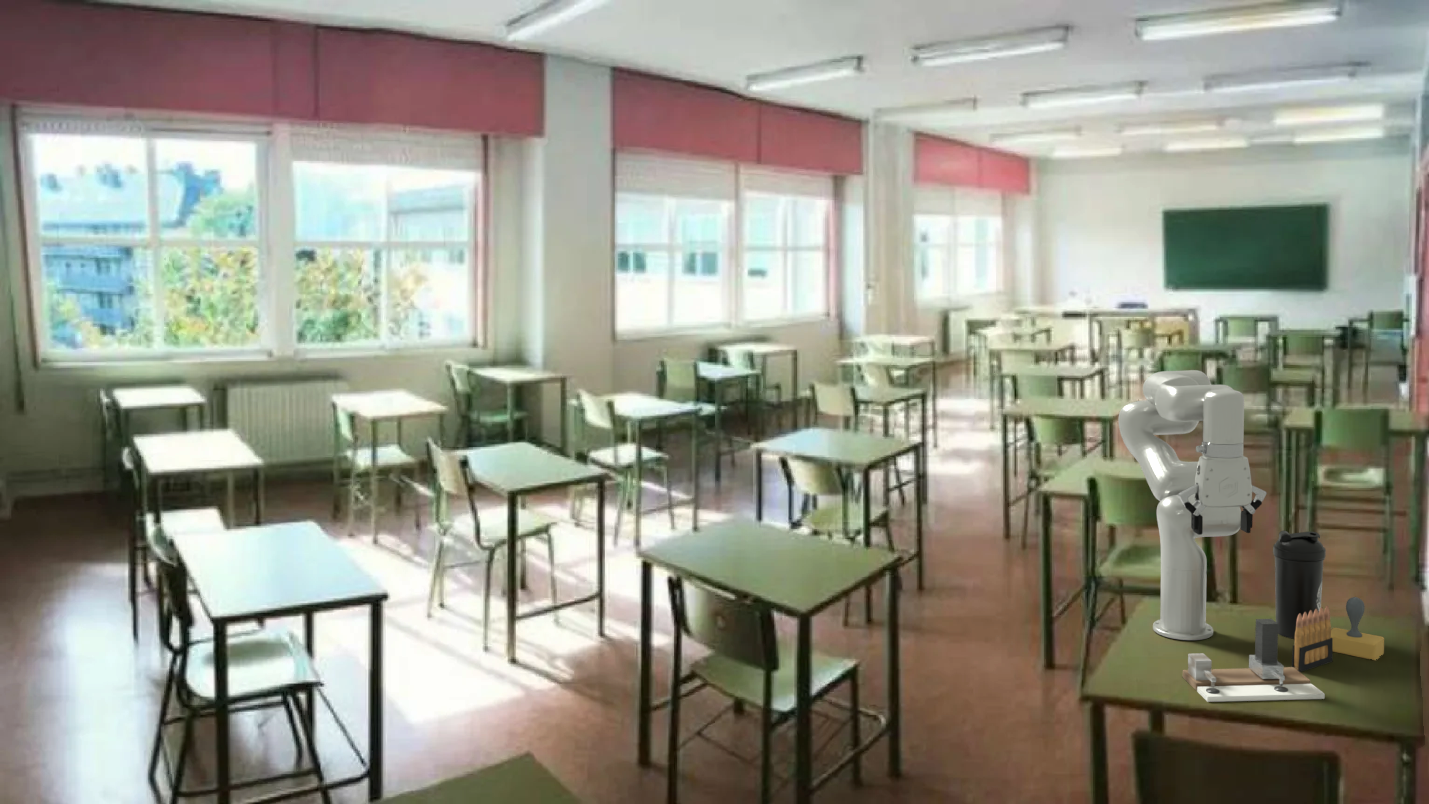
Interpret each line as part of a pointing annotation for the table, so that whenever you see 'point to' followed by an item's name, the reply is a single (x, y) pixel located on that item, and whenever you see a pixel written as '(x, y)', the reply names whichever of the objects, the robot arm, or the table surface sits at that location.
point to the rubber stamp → (1356, 635)
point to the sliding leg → (1266, 651)
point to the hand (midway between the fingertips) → (1221, 532)
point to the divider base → (1232, 675)
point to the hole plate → (1260, 692)
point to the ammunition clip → (1312, 640)
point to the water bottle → (1297, 578)
